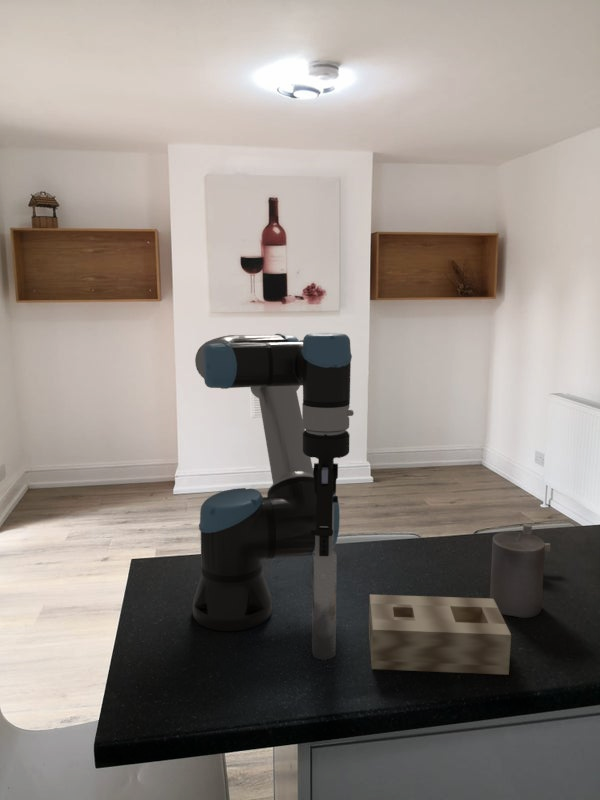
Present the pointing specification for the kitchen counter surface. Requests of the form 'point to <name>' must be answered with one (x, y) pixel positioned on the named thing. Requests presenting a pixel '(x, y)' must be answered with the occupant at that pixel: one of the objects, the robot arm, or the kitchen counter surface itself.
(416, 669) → the hole block
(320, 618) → the pin
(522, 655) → the kitchen counter surface
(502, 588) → the pillar candle
